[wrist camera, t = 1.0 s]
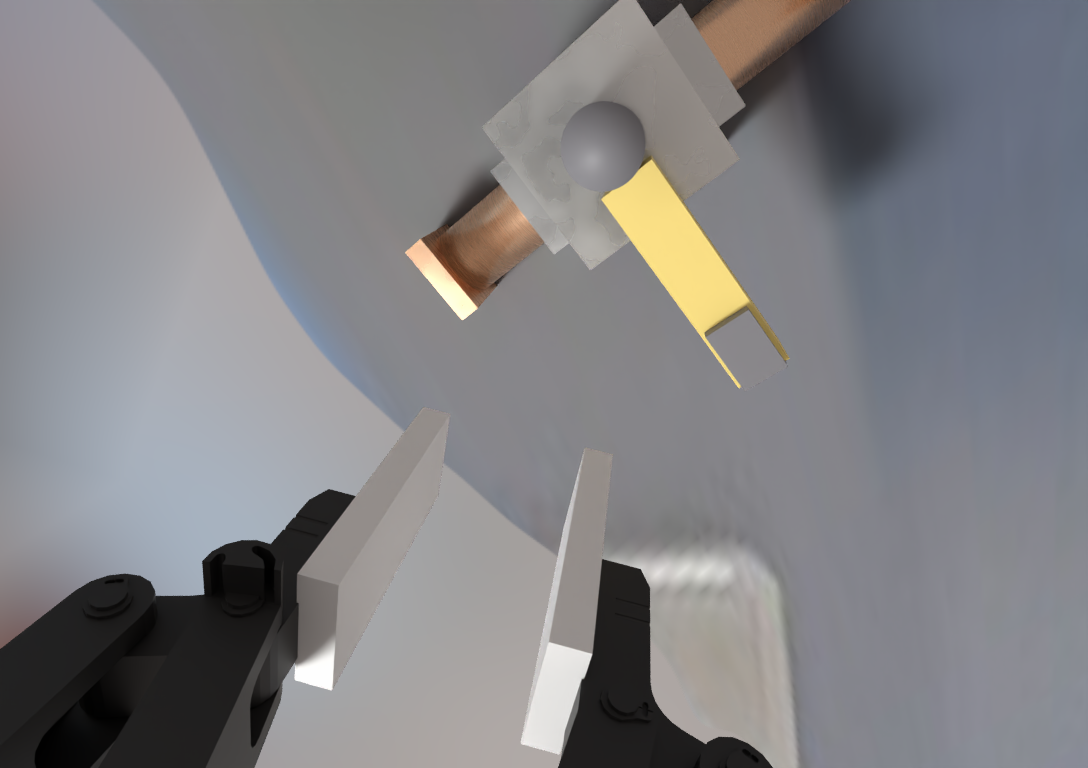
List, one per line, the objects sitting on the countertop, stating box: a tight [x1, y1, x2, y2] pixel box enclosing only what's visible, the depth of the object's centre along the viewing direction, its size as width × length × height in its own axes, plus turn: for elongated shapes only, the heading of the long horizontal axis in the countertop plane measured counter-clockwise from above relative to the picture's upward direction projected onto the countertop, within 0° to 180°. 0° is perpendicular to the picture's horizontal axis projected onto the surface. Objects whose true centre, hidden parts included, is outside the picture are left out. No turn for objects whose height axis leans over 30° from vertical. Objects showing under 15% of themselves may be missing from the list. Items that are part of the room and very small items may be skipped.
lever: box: [560, 101, 790, 391], centre depth 26 cm, size 13×3×4 cm, turn 38°
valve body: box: [405, 0, 851, 320], centre depth 30 cm, size 8×26×8 cm, turn 128°
